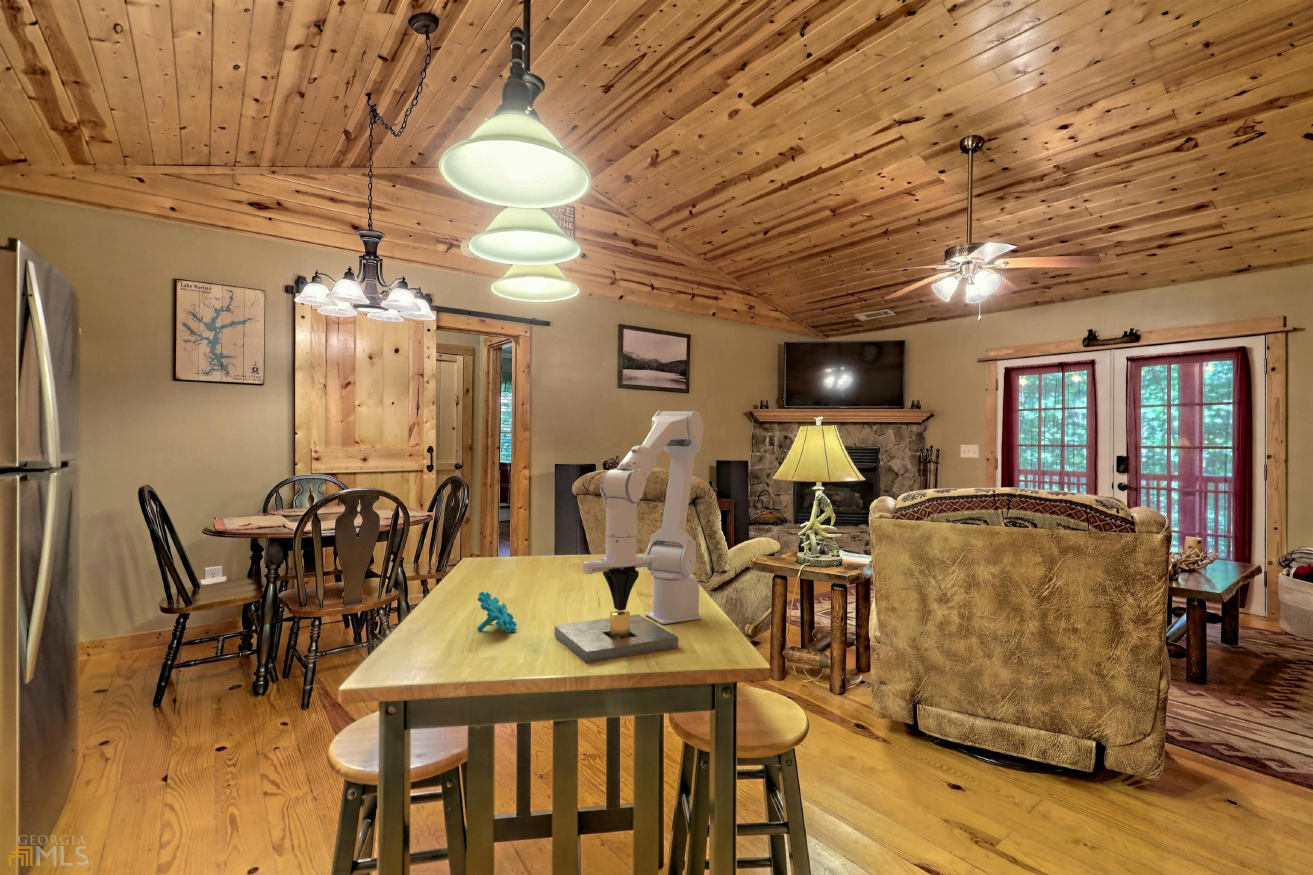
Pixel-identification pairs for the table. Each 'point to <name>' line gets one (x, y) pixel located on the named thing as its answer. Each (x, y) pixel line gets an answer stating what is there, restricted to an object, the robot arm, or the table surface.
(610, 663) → the table surface
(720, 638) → the table surface
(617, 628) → the bushing
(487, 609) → the gear
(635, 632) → the plate
